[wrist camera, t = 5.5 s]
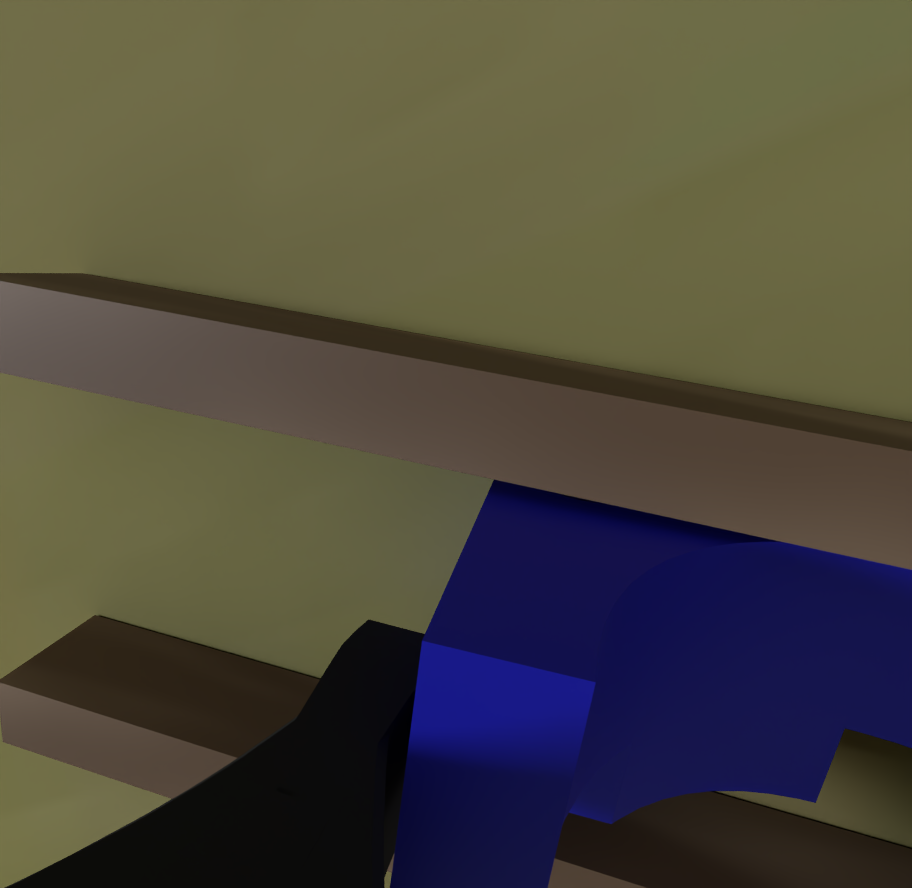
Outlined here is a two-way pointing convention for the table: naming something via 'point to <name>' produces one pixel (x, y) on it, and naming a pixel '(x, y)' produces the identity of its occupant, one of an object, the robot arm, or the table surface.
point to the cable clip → (632, 678)
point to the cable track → (468, 451)
